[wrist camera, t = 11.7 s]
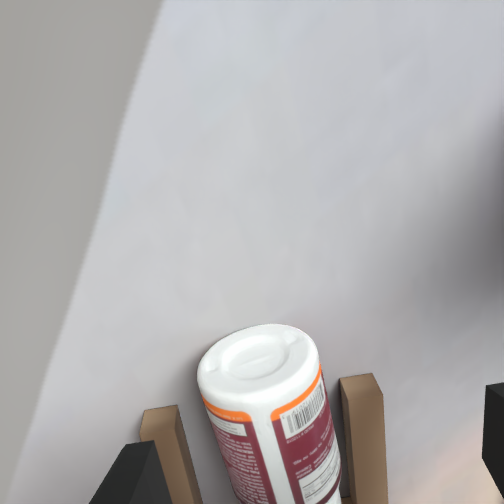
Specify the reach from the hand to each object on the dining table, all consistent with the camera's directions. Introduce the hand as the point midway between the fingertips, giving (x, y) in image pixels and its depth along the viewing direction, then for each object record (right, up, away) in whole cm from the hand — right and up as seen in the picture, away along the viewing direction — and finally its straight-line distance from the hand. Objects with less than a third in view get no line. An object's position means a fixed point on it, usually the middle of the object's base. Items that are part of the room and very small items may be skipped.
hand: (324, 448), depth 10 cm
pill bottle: (-1, +1, +7) cm, 7 cm away
